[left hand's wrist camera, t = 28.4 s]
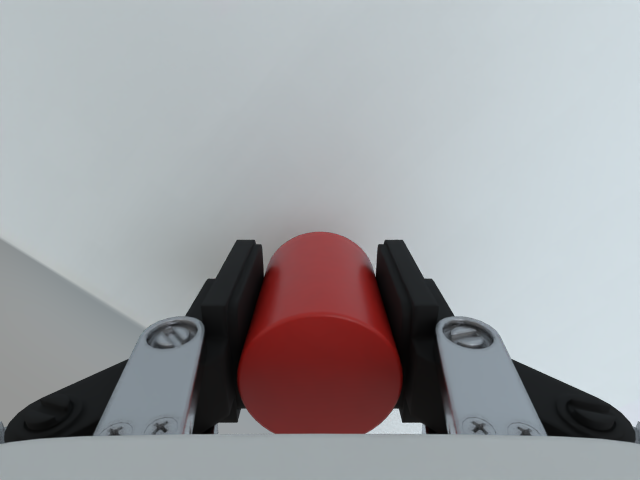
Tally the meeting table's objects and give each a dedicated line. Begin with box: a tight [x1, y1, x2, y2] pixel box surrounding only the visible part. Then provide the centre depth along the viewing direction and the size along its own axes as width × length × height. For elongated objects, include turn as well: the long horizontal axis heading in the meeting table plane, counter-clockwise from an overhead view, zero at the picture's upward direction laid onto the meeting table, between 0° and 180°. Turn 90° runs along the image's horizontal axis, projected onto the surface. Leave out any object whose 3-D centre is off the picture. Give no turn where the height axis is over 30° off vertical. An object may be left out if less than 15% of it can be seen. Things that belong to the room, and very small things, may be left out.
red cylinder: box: [237, 232, 403, 434], centre depth 10 cm, size 4×4×5 cm
